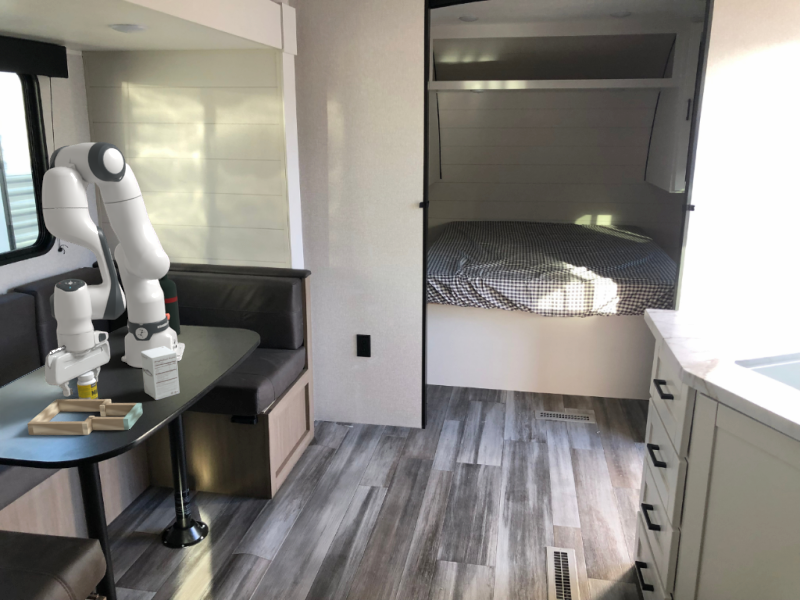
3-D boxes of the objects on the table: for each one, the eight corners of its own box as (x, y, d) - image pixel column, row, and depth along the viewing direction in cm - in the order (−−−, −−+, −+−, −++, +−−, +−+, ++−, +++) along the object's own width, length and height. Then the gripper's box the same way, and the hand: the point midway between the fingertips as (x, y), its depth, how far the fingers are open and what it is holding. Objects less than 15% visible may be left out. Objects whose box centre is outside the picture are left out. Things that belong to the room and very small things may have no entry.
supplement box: (144, 392, 182) (139, 351, 179) (168, 385, 187) (165, 345, 184) (155, 400, 177) (151, 358, 174) (180, 393, 182) (177, 351, 179)
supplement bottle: (95, 405, 174) (92, 376, 172) (77, 406, 173) (73, 377, 171) (100, 397, 178) (97, 369, 176) (82, 398, 178) (78, 370, 175)
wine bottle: (155, 330, 236) (148, 250, 228) (183, 330, 237) (176, 250, 229) (148, 337, 229) (140, 255, 221) (177, 337, 229) (170, 255, 221)
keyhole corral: (57, 409, 171) (56, 399, 170) (146, 409, 172) (144, 399, 171) (29, 434, 157) (27, 423, 156) (125, 434, 158) (124, 423, 157)
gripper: (56, 354, 160) (61, 405, 164) (112, 331, 179) (116, 377, 183) (35, 351, 162) (41, 401, 165) (93, 329, 181) (97, 374, 184)
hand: (81, 388), depth 174 cm, fingers open, 8 cm apart
